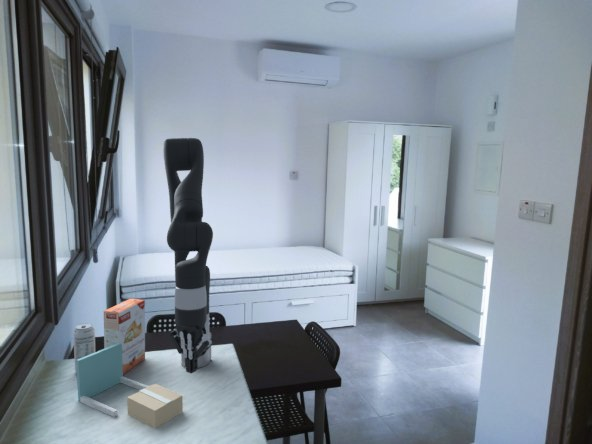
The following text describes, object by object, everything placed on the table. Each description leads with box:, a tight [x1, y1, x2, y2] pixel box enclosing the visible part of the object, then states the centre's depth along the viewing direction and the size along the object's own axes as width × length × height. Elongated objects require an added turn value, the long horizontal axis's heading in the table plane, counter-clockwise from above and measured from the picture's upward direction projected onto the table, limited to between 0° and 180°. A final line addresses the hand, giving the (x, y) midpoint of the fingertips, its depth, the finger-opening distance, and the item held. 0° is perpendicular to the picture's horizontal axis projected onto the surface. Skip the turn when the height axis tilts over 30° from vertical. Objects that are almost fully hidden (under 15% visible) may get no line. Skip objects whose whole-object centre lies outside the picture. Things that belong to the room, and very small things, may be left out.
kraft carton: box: [126, 383, 184, 429], centre depth 115 cm, size 9×11×5 cm
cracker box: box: [103, 298, 146, 375], centre depth 140 cm, size 14×6×21 cm, turn 166°
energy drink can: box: [72, 322, 96, 373], centre depth 136 cm, size 6×6×15 cm
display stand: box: [76, 343, 150, 418], centre depth 122 cm, size 14×15×12 cm
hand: (191, 371), depth 107 cm, fingers closed
